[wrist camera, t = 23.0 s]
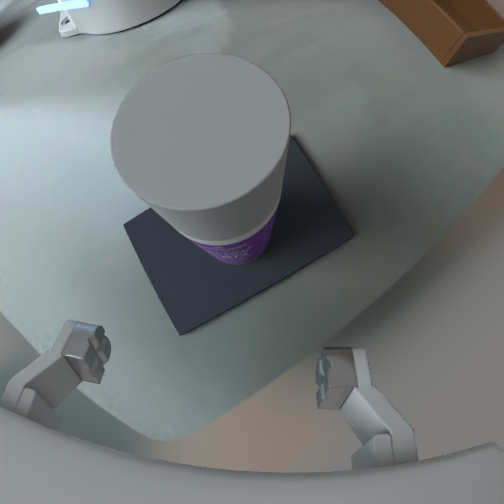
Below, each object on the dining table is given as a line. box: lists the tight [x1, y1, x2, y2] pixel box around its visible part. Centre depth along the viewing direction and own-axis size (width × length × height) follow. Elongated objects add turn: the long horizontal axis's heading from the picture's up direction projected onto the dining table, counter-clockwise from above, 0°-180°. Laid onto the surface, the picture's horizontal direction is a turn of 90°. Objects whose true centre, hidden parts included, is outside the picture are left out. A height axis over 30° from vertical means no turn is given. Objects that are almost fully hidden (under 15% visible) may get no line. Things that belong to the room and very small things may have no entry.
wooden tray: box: [379, 0, 504, 67], centre depth 22 cm, size 12×12×5 cm
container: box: [110, 53, 291, 265], centre depth 14 cm, size 5×5×15 cm
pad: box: [124, 135, 354, 336], centre depth 22 cm, size 9×14×1 cm, turn 120°
